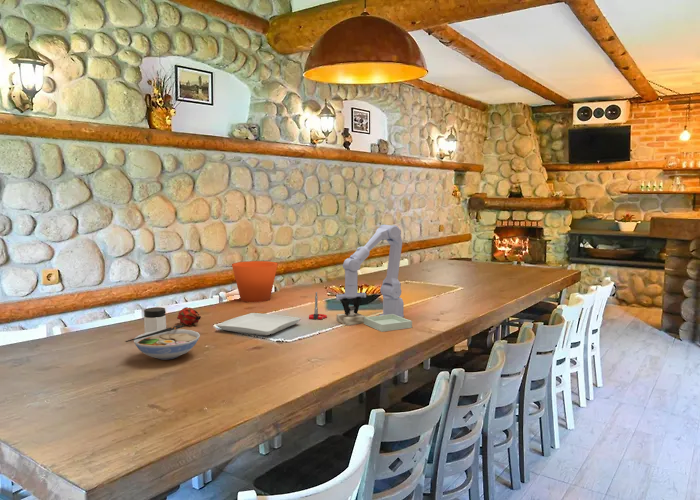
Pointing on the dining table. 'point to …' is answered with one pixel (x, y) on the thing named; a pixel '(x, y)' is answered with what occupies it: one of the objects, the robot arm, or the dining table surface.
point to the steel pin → (351, 311)
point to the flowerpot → (255, 279)
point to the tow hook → (316, 315)
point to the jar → (154, 319)
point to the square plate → (258, 323)
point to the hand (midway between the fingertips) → (351, 313)
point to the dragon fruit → (188, 316)
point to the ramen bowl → (166, 342)
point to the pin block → (350, 319)
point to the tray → (387, 322)
